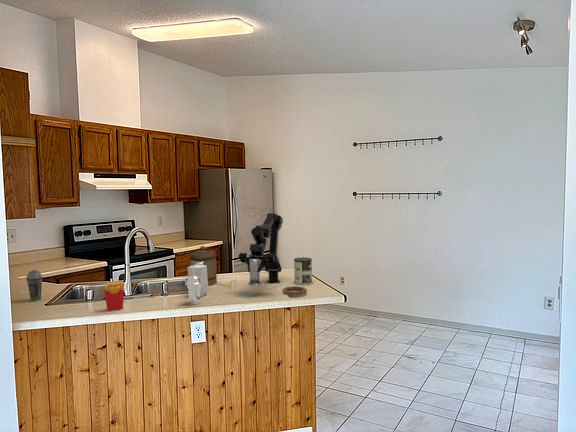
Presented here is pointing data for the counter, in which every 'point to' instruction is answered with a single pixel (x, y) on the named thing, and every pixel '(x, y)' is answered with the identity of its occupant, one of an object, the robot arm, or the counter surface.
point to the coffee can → (303, 270)
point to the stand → (246, 294)
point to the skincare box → (202, 273)
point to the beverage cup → (34, 284)
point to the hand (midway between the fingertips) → (253, 271)
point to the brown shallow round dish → (295, 291)
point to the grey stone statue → (194, 287)
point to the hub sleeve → (254, 272)
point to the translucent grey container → (206, 263)
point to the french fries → (114, 295)
